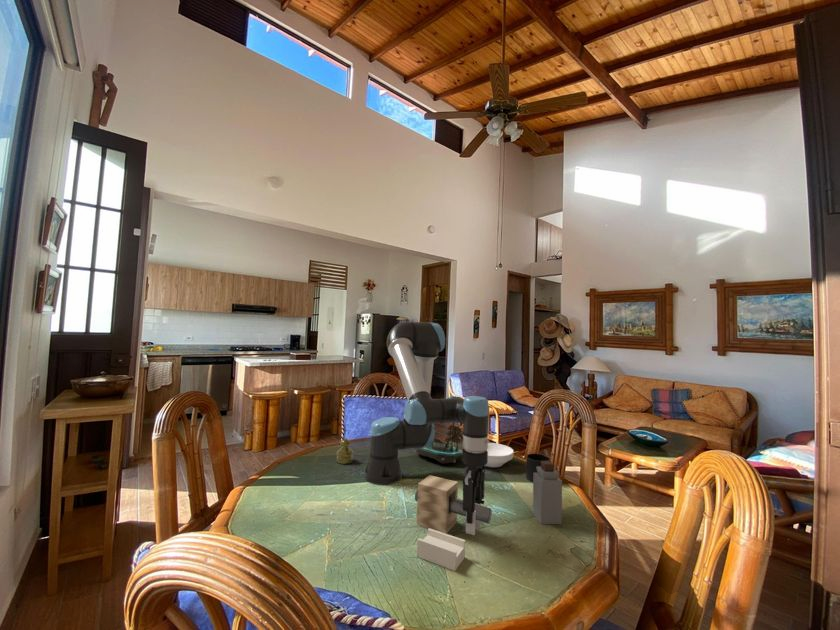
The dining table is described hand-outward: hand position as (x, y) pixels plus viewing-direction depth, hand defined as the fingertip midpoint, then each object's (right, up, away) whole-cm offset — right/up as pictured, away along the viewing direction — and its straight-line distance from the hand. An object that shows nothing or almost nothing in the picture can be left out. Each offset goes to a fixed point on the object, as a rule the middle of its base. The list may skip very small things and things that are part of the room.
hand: (473, 529), depth 106 cm
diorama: (-6, -5, +66) cm, 66 cm away
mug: (+34, -5, +43) cm, 55 cm away
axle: (-6, +3, +4) cm, 8 cm away
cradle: (-10, -1, -11) cm, 15 cm away
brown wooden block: (-11, -2, +6) cm, 12 cm away
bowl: (+17, -6, +59) cm, 62 cm away
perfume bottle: (+26, -3, +11) cm, 28 cm away
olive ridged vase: (-50, -4, +57) cm, 76 cm away
